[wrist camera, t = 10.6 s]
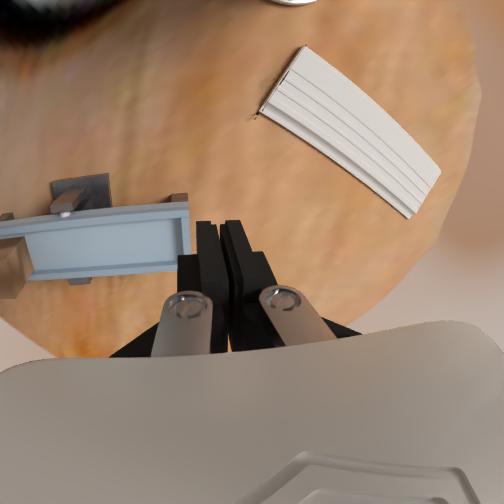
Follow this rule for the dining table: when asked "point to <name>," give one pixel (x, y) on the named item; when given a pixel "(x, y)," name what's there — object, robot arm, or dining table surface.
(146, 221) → the beam
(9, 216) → the stand
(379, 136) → the baseboard molding
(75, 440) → the robot arm
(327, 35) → the dining table surface
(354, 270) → the dining table surface
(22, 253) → the rider
